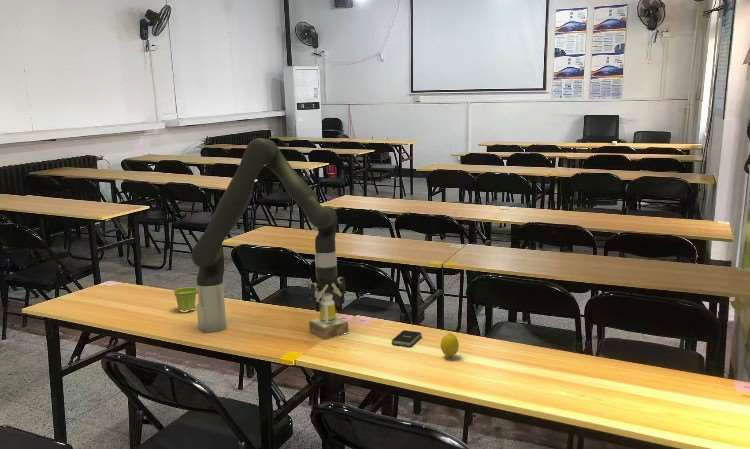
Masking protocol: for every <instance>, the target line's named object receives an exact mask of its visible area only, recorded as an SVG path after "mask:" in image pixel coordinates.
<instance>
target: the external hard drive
mask: <svg viewBox="0 0 750 449" xmlns="http://www.w3.org/2000/svg"><path fill="white" fill-rule="evenodd" d="M421 338H422V332H421V331H413V330H406V329H405V330H402V331H401V332H399V333H398V334H397V335H396V336H394V337H393V338H392V339H391V345H392V346H396V347H402V348H403V347H404V348H411V347H413V346H414V345H415V344H416V343H417V342H418V341H419V340H420V339H421Z"/></svg>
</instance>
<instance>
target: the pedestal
mask: <svg viewBox="0 0 750 449" xmlns="http://www.w3.org/2000/svg"><path fill="white" fill-rule="evenodd" d="M308 326H309V327H308V329H309V330H308V332H309V333H310V334H312V335H314V336H316V337H317V338H320V339H322V340H324V341H325V339H326V340H328V339H327V338H329V339H331V338H330V337H333V338H335V337H334V336H337V335H340V336H342V335H341V334H344V333H347V332H348V333H349V322H348V321H346V320H344V319H341V318H339V317H337V316H335V321H334V322H333V323H322V322H321V321H320V318H316V319H312V320H310V321H308ZM344 335H345V334H344ZM337 337H338V336H337Z"/></svg>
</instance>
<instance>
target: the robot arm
mask: <svg viewBox="0 0 750 449" xmlns="http://www.w3.org/2000/svg"><path fill="white" fill-rule="evenodd" d="M239 162H240V163H239V165H238V168H237V170H236V172H235V173H234V175H233V176H232V178H231V180H230V182H229V184H228V186H227V187H226V189H225V191H224V193H223V194H222V196H221V198H220V200H219V202H218V204H217V206H216V207H215V210H214V212H213V214H212V216H211V218H210V220H209V223H208V226H207V227H206V228H205V230H204V232H203V234H202V235H201V236H200V238H199V239H198V241H197V242H196V244H195V245H194V246H193V248H192V250H191V251H192V252H191V259H192V262H193V263H194V264H195V266H197V267H198V273H197V275H196V276H197V277H196V288H197V302H198V303H197V304H196V313H197V326H198V330H200V331H201V332H202V333H204V334H205V333H215V332H220V331H223V330H225V329H227V318H226V303H225V289H224V288H225V287H224V276H225V275H224V274H225V256H224V254H225V253H224V248H223V246H222V245H223V243H224V241H225V239H226V237H227V236H228V234H229V233H230V232H231V231H232V230H233V228H234V227H235V226H236V225H237V223H238V222H239V221H240V219H241V218H242V216H243V215H244V214H245V212H246V209H248V208H247V207H248V206H249V204H250V202H251V198H252V195H253V191H254V190H253V189H254V185H255V181H256V179H257V177H258V176H259V174H260V172H261V171H262V169H263V168H264V167H266V168H268V169H269V170H270V171H271V172H272V173H274V174H275V176H276V177H277V178H278V180H279V181H280V182H281V184H282V186H283V187H284V189H285V191H286V192H287V194H288V195H289V196H290V197H291V198H292V200H293V201H294V202H295V203H296V204H297V205H298V206H299V207H300V208H301V209H302V211H303V213H304V214H305V216H306V218H307V220H308V221H309V222H310V223H311V224H312V226H314V227H315V228H316V229H318V232H317V234H316V237H315V239H314V247H315V248H314V249H315V250H314V251H315V255H314V265H315V266H314V267H315V270H314V271H315V278H316V281H315V282H313V283H312V282H309V283H308V284H307V299H308V300H310V301H312V302H313V309H314V310H315V311H316V312H317V313H320V301H321V300H320V299H321V296H323V294H324V293H333V294H334V295H335V296H334V297H335V300H334V302H335V307H338V308H340V307H341V305H342V295H344V294H346V293H347V290H346V289H347V288H346V278H345V277H342V276H338V261H337V258H338V257H337V252H336V251H337V250H336V236H337V226H338V216H337V211H336V210H335V209H334V208H333V207H331V206H329V205H327V206H322V204H320V202H319V201H318V199H319V196H318V195H317V194H316V192H315V191H314V190H313V189H312V188H311V187H310V186H309V184H308V183H306V181H305V180H304V179H303V178H302V177H301V176H300V175H299V174H298V172H296V170H294V168H293V167H292V166H291V165H290V163H289V161H287V159H286V158H285V156H284V154H283V153H282V152H281V150H280V148H279V147H278V145H277V144H276V143H275V142H274V141H273V140H271V139H269V138H261V137H258V138H257V137H256V138H254V139H252V140H251V141H249V143H248V144H247V146H246V148H245V150H244V153H243V156H242V157H241V160H240V161H239ZM337 285H338V287H337Z"/></svg>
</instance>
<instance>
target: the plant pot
mask: <svg viewBox="0 0 750 449" xmlns="http://www.w3.org/2000/svg"><path fill="white" fill-rule="evenodd" d="M173 294H174V296H175V299H176V303H177V308H178V311H179V310H183V311H186V310H191V309H194V308H195V309H196V298H197V294H198V290H197V287H194V286H190V287H189V286H186V287H185V286H184V287H180V288H176V289H174V290H173Z"/></svg>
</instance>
